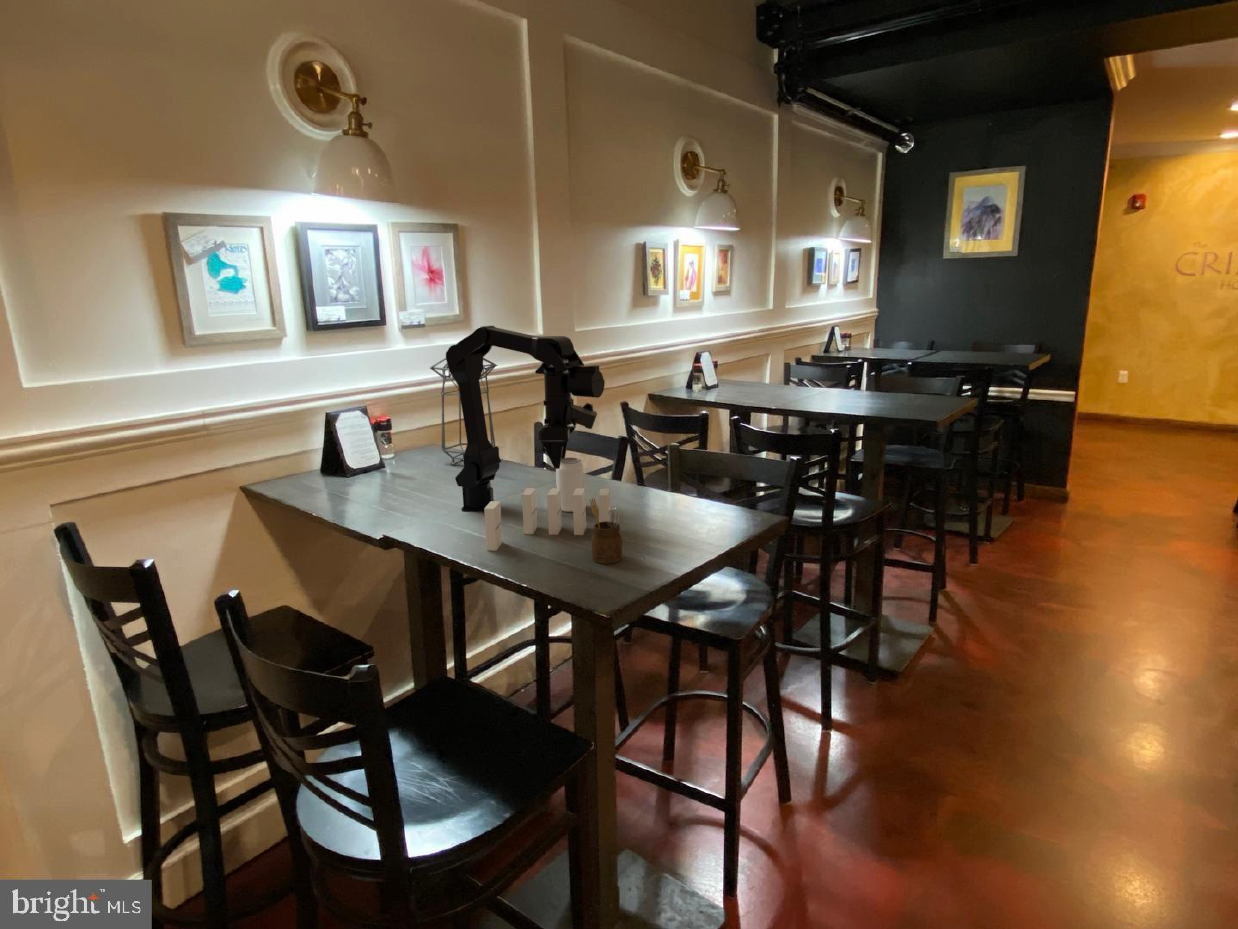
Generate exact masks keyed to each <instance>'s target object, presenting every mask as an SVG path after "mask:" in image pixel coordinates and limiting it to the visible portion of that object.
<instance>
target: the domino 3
mask: <svg viewBox="0 0 1238 929" xmlns="http://www.w3.org/2000/svg"><path fill="white" fill-rule="evenodd" d="M546 495H547V496H546V497H547V498H546V499H547V517H548V518H547V519H548V521H547V522H548V523H547V525H548V535H551V536H552V535H555V536H557V535H559V533H560V531H561V529H562V527H563V526H562V525H563V524H562V511H561V494H560V488H557V487H556V488H555V487H554V488H553V487H552V488H550V490H549V491H548V493H546Z"/></svg>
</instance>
